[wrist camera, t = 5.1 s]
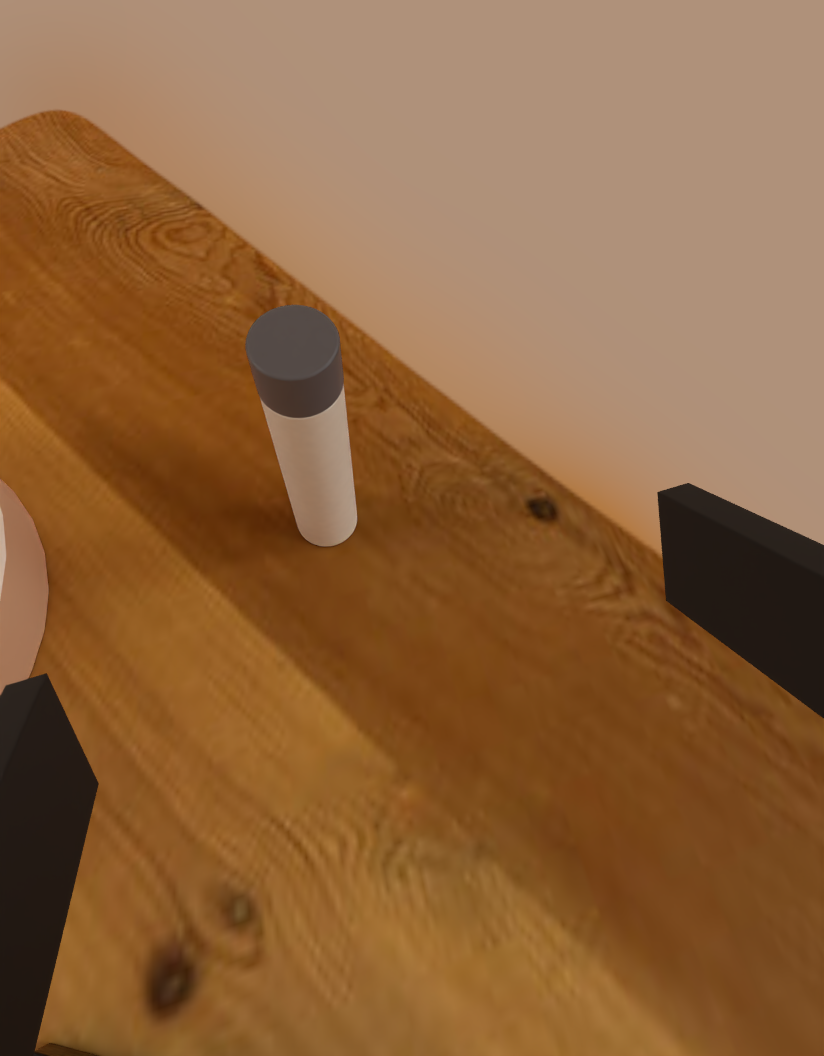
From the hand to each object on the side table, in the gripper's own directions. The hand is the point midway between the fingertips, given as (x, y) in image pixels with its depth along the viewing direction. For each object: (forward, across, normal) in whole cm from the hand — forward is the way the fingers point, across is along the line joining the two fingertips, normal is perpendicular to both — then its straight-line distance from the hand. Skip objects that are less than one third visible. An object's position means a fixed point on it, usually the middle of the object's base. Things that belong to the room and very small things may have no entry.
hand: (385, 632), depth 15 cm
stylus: (+16, 0, -3) cm, 16 cm away
